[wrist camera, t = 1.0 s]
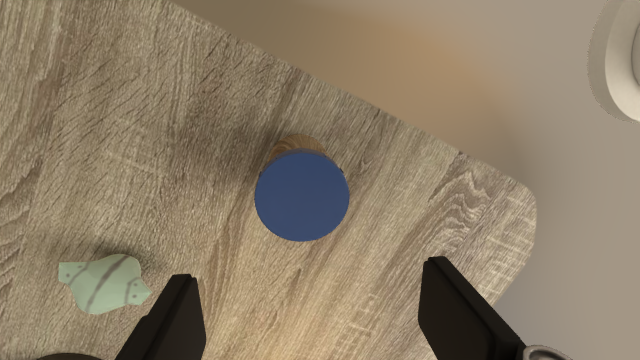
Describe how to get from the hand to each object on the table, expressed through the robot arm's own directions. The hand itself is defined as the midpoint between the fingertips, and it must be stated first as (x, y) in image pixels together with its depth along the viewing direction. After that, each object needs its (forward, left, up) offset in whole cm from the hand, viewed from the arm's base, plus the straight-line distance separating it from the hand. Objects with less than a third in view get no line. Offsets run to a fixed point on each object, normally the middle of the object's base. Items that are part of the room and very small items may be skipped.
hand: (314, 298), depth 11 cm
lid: (0, 0, -11) cm, 11 cm away
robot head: (+20, -6, -20) cm, 29 cm away
